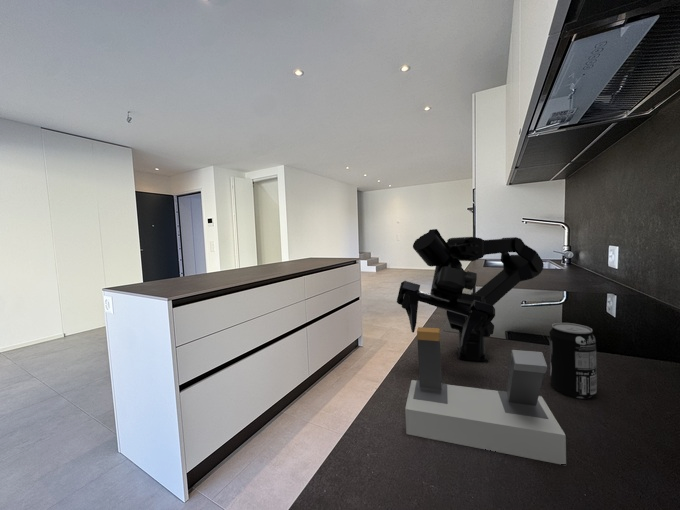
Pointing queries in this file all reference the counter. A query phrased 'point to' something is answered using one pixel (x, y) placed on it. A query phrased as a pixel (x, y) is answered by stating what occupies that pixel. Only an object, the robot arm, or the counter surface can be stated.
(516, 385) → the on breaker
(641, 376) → the counter surface
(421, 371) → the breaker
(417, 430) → the grey mounting base
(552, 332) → the beverage can
